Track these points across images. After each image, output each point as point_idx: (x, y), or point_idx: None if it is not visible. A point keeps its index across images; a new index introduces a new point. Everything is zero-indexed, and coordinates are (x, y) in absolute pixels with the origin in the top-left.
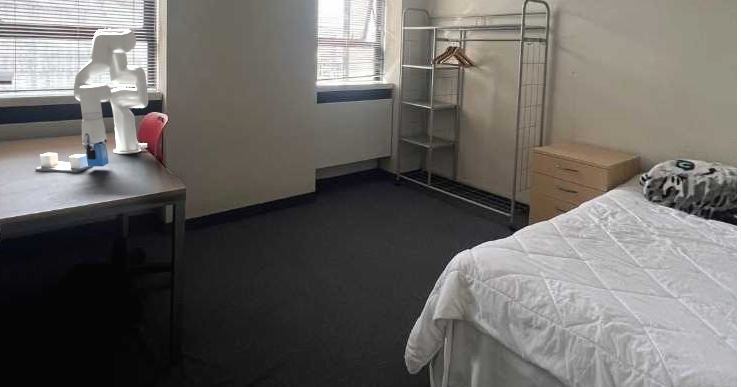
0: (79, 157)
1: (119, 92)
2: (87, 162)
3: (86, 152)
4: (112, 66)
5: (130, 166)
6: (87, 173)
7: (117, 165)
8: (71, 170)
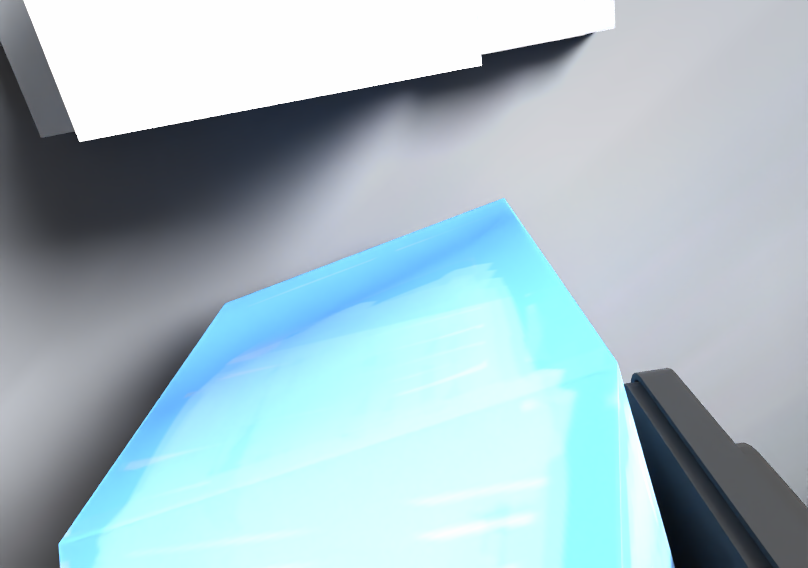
0: (123, 130)
1: None
2: (200, 346)
3: (81, 540)
4: None
5: None
6: (152, 346)
7: (786, 338)
8: (13, 59)
